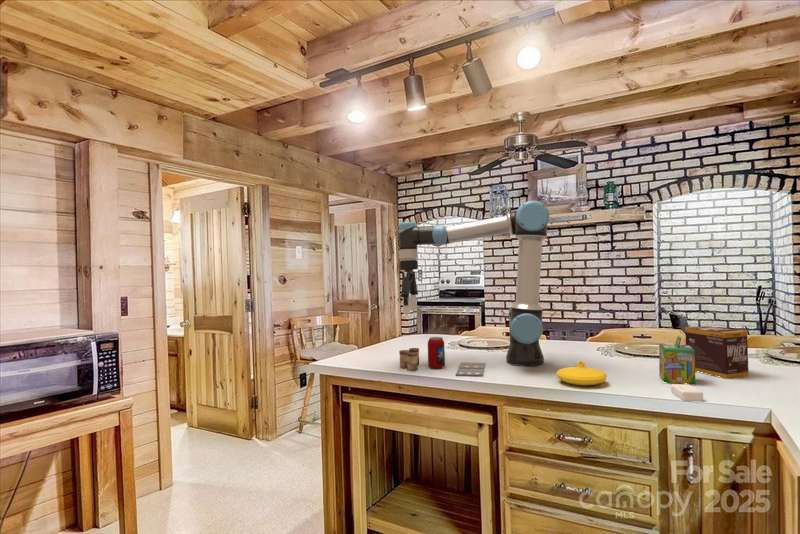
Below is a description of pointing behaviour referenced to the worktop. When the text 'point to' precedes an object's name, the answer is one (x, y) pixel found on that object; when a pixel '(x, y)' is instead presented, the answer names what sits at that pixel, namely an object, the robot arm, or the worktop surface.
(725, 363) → the supplement box
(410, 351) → the jar
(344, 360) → the worktop surface
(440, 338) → the beverage can
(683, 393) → the soap
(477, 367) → the pad two
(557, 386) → the worktop surface
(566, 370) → the yellow lidded dish
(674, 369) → the chalk box
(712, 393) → the worktop surface
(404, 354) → the jar
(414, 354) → the jar
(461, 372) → the pad three
